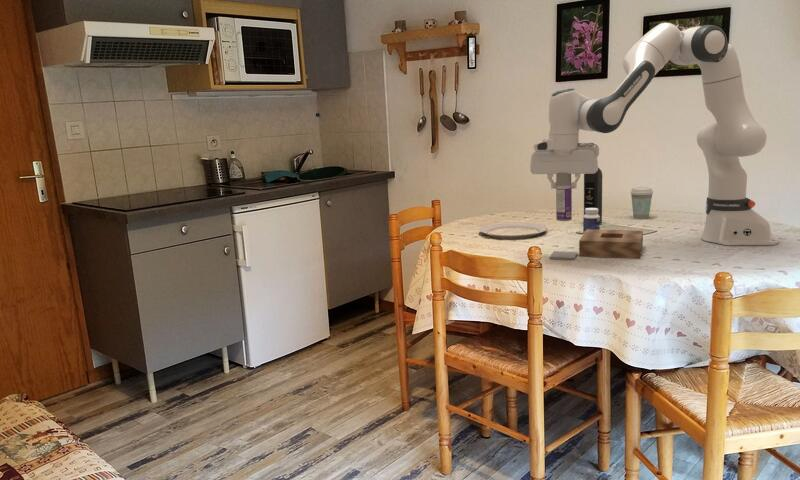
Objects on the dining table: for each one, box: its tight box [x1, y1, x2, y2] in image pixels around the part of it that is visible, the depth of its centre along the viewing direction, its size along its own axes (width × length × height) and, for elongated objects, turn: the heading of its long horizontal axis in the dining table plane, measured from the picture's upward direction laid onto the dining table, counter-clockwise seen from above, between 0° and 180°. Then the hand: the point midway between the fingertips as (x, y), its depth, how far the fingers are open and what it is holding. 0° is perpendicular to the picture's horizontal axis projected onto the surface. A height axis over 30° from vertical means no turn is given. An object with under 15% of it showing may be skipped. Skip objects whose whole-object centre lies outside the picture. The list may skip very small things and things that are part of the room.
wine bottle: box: [583, 167, 603, 225], centre depth 243 cm, size 6×6×30 cm
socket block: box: [578, 229, 644, 259], centre depth 202 cm, size 18×18×5 cm
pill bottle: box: [582, 208, 601, 235], centre depth 225 cm, size 6×6×10 cm
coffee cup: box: [630, 186, 654, 220], centre depth 252 cm, size 8×8×12 cm
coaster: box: [549, 250, 579, 261], centre depth 199 cm, size 8×8×1 cm
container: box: [555, 173, 573, 222], centre depth 195 cm, size 5×5×15 cm
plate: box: [478, 221, 548, 239], centre depth 239 cm, size 26×26×2 cm
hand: (563, 188), depth 194 cm, fingers closed on container, 5 cm apart
